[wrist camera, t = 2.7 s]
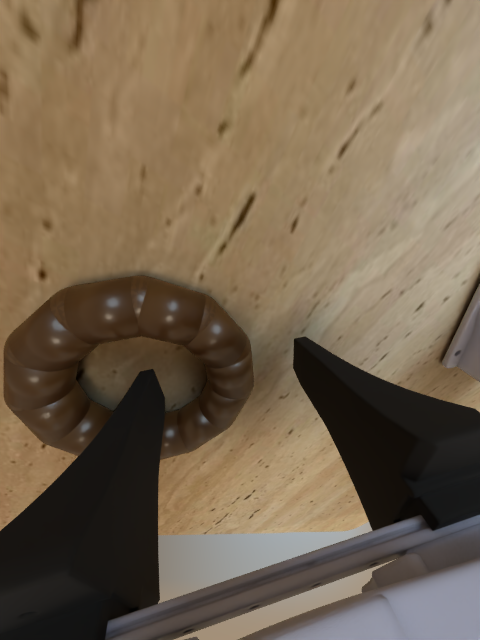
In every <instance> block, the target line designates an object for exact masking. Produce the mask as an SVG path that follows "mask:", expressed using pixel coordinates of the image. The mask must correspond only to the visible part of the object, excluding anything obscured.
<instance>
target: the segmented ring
mask: <svg viewBox="0 0 480 640" xmlns="http://www.w3.org/2000/svg"><path fill="white" fill-rule="evenodd" d="M139 336H143V337H147V338H152V339H156V340H161V341H165V342H170V343H174V344H179V345H183V346H184V347H185V348H186V349H188V350H189V351H190V352H191V353H192V354H194V355H195V356H196V357H197V358H198V359H200V360H201V361H202V362H203V363H204V364H205V368H206V373H207V377H208V381H207V383H206V385H205V387H204V389H203V391H202V393H201V395H200V396H199V397H197V398H196V399H195V400H193V401H192V402H190V403H189V404H187V405H186V406H184V407H183V408H182V409H180V410H176V411H171V412H167V413H165V420H164V430H163V438H162V447H161V455H160V460H161V459H165V458H169V457H173V456H177V455H180V454H184V453H188V452H191V451H194V450H196V449H197V448H199V447H200V446H202V445H203V444H205V443H207V442H208V441H210V440H211V439H213V438H214V437H216V436H217V435H219V434H220V433H222V432H223V431H225V430H226V429H228V428H229V427H230V426H231V425H232V424H233V422H234V421H235V419H236V418H237V416H238V414H239V413H240V411H241V409H242V408H243V406H244V404H245V403H246V401H247V399H248V398H249V396H250V394H251V392H252V390H253V387H254V376H253V365H252V354H251V345H250V341H249V339H248V337H247V335H246V334H245V333H244V332H243V331H242V329H241V328H240V327H239V326H238V325H237V324H236V323H235V322H234V321H233V320H232V319H231V318H230V316H229V315H228V314H227V313H226V312H225V311H224V310H223V309H222V308H221V307H220V306H219V305H218V303H217V302H216V301H215V300H213V299H212V298H211V297H209V296H207V295H205V294H202V293H199V292H196V291H193V290H190V289H186V288H183V287H180V286H177V285H174V284H170V283H167V282H164V281H161V280H158V279H155V278H151V277H148V276H132V277H126V278H119V279H113V280H107V281H101V282H95V283H88V284H82V285H76V286H71V287H67V288H64V289H62V290H60V291H59V292H57V293H56V294H54V295H53V296H52V297H51V298H50V299H49V300H48V301H46V302H45V303H44V304H43V305H42V306H41V307H40V308H39V309H38V310H36V311H35V312H34V313H33V314H32V315H31V316H30V317H29V318H27V319H26V320H25V321H24V322H23V323H22V324H21V325H20V326H19V327H17V328H16V329H15V330H14V331H13V332H12V333H11V335H10V336H9V337H8V338H7V341H6V343H5V346H4V400H5V402H6V404H7V406H8V407H9V408H10V409H11V411H12V412H13V413H14V414H15V415H16V416H17V417H18V418H19V419H20V420H21V421H22V422H23V423H24V424H25V425H26V426H27V427H28V428H29V429H30V430H31V431H32V432H33V433H34V435H35V436H36V437H37V438H38V439H39V440H40V441H42V442H43V443H45V444H47V445H49V446H52V447H55V448H58V449H60V450H63V451H66V452H69V453H72V454H74V455H77V456H79V455H80V454H81V453H82V452H83V451H84V450H85V448H86V447H87V446H88V445H89V444H90V443H91V441H92V440H93V439H94V438H95V436H96V435H97V434H98V433H99V431H100V430H101V429H102V428H103V426H104V425H105V423H106V422H107V421H108V419H109V418H110V417H111V415H112V414H113V413H114V412H113V411H111V410H109V409H107V408H106V407H104V406H102V405H100V404H98V403H96V402H94V401H92V400H90V399H89V398H88V397H87V395H86V394H85V392H84V391H83V389H82V388H81V386H80V385H79V383H78V382H77V380H76V375H77V369H78V364H79V361H80V360H81V359H82V358H83V357H85V356H86V355H87V354H88V353H89V352H91V351H92V350H93V349H94V348H96V347H97V346H98V345H99V344H103V343H108V342H113V341H119V340H124V339H129V338H134V337H139Z"/></svg>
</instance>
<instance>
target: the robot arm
mask: <svg viewBox="0 0 480 640" xmlns="http://www.w3.org/2000/svg"><path fill="white" fill-rule="evenodd" d="M442 365H443V366H445V367H446V368H452V367H456V366H457V367H458V368H460V369H461V370H463V371H464V372H466V373H467V374H469V375H470V376H472V377H473V378H475V379H476V380H478V381H479V382H480V284H479V286H478V288H477V290H476V292H475V294H474V296H473V298H472V300H471V302H470V305H469V307H468V309H467V311H466V313H465V315H464V317H463V319H462V321H461V323H460V325H459V328H458V330H457V332H456V334H455V336H454V338H453V340H452V342H451V344H450V346H449V348H448V350H447V353H446V355H445V357H444V359H443V361H442ZM293 369H294V371H295V373H296V375H297V378H298V380H299V382H300V384H301V386H302V388H303V389H304V391H305V393H306V394H307V396H308V397H309V399H310V401H311V402H312V404H313V406H314V407H315V409H316V410H317V412H318V414H319V415H320V417H321V418H322V420H323V422H324V423H325V425H326V427H327V429H328V431H329V433H330V435H331V437H332V439H333V441H334V443H335V445H336V447H337V449H338V451H339V453H340V455H341V458H342V460H343V462H344V464H345V466H346V468H347V471H348V473H349V475H350V477H351V480H352V482H353V484H354V486H355V489H356V491H357V493H358V496H359V498H360V501H361V503H362V505H363V508H364V510H365V513H366V515H367V518H368V520H369V522H370V525H371V528H372V530H373V531H371V532H368V533H366V534H362V535H359V536H357V537H354V538H351V539H348V540H345V541H342V542H339V543H336V544H333V545H330V546H327V547H324V548H321V549H318V550H315V551H312V552H309V553H306V554H304V555H301V556H298V557H295V558H292V559H289V560H286V561H283V562H280V563H277V564H274V565H271V566H268V567H265V568H262V569H260V570H256V571H253V572H250V573H247V574H245V575H242V576H239V577H236V578H233V579H230V580H227V581H224V582H221V583H218V584H215V585H212V586H209V587H206V588H203V589H200V590H197V591H195V592H192V593H189V594H186V595H183V596H180V597H177V598H174V599H171V600H168V601H165V602H162V603H159V604H158V602H159V600H160V595H159V594H160V593H159V563H158V477H159V463H160V455H161V447H162V438H163V430H164V420H165V397H164V395H163V392H162V390H161V387H160V385H159V382H158V380H157V377H156V375H155V372H154V370H153V369H150V370H146V371H141V372H140V373H139V374H138V376H137V377H136V379H135V380H134V382H133V384H132V385H131V387H130V388H129V390H128V392H127V393H126V395H125V396H124V398H123V399H122V401H121V402H120V404H119V405H118V407H117V408H116V410H115V411H114V413H113V414H112V415H111V417H110V418H109V419H108V421H107V422H106V423H105V425H104V426H103V428H102V429H101V430H100V431H99V433H98V434H97V435H96V436H95V438H94V439H93V440H92V441H91V443H90V444H89V445H88V446H87V447H86V448H85V450H84V451H83V452H82V453H81V454H80V455H79V456H78V457H77V458H76V460H75V461H74V462H73V463H72V464H71V465H70V466H69V467H68V468H67V469H66V470H65V471H64V472H63V473H62V474H61V475H60V476H59V477H58V478H57V479H56V480H55V481H54V482H53V483H52V484H51V485H50V486H49V487H48V488H47V489H46V490H45V491H44V492H43V493H42V494H41V495H40V496H39V497H38V498H37V499H36V500H35V501H34V502H33V503H31V504H30V505H29V506H28V507H27V508H26V509H25V510H24V511H23V512H22V513H21V514H19V515H18V516H17V517H16V518H15V519H14V520H13V521H11V522H10V523H9V524H8V525H7V526H6V527H4V528H3V529H2V530H1V531H0V640H173V639H176V638H179V637H181V636H184V635H187V634H190V633H192V632H195V631H198V630H201V629H204V628H206V627H209V626H212V625H214V624H217V623H220V622H223V621H226V620H228V619H231V618H234V617H237V616H240V615H242V614H245V613H248V612H251V611H253V610H256V609H259V608H262V607H264V606H267V605H270V604H273V603H276V602H278V601H281V600H284V599H287V598H289V597H292V596H295V595H298V594H300V593H303V592H306V591H309V590H312V589H314V588H317V587H320V586H323V585H325V584H328V583H331V582H334V581H336V580H339V579H342V578H345V577H347V576H350V575H353V574H356V573H359V572H361V571H364V570H367V569H369V568H372V567H375V566H378V565H381V564H384V563H386V562H389V561H392V560H394V561H392V562H390V563H388V564H386V565H384V566H382V567H380V568H378V569H376V570H375V571H373V572H372V578H371V580H370V581H369V582H368V583H367V584H365V585H364V586H363V587H362V593H361V594H358V595H355V596H352V597H348V598H345V599H342V600H339V601H336V602H333V603H331V604H328V605H325V606H322V607H319V608H316V609H313V610H311V611H308V612H306V613H303V614H300V615H298V616H295V617H292V618H289V619H287V620H284V621H282V622H279V623H277V624H274V625H272V626H269V627H267V628H264V629H262V630H259V631H257V632H255V633H252V634H250V635H247V636H245V637H243V638H240V639H238V640H480V412H478V411H477V410H476V409H474V408H470V407H466V406H462V405H458V404H454V403H450V402H447V401H443V400H439V399H436V398H433V397H429V396H426V395H423V394H420V393H417V392H414V391H411V390H408V389H405V388H403V387H400V386H397V385H395V384H392V383H390V382H387V381H385V380H382V379H380V378H378V377H376V376H374V375H371V374H369V373H367V372H365V371H363V370H361V369H359V368H357V367H355V366H353V365H351V364H350V363H348V362H346V361H344V360H342V359H341V358H339V357H337V356H336V355H334V354H332V353H331V352H329V351H327V350H326V349H324V348H323V347H321V346H320V345H318V344H316V343H315V342H313V341H312V340H310V339H308V338H307V337H300V338H296V339H294V359H293ZM397 558H398V559H397ZM395 559H396V560H395ZM185 640H199V639H198V638H197V637H193V638H189V639H185Z"/></svg>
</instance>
